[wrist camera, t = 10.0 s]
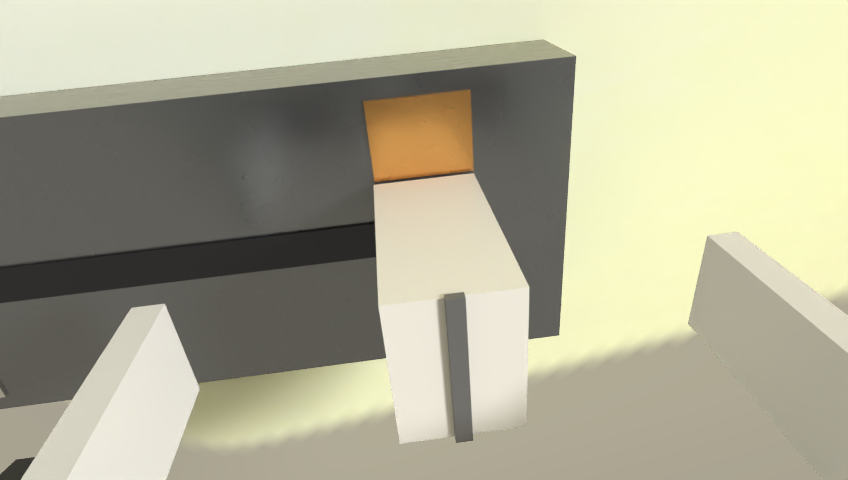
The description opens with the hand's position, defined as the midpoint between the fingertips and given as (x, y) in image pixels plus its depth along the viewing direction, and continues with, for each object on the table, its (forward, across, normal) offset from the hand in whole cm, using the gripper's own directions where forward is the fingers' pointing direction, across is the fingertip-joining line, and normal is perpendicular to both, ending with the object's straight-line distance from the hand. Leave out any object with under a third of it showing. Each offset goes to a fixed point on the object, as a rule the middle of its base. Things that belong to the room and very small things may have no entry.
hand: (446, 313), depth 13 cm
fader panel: (+7, -8, 0) cm, 10 cm away
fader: (+4, 0, 0) cm, 4 cm away
